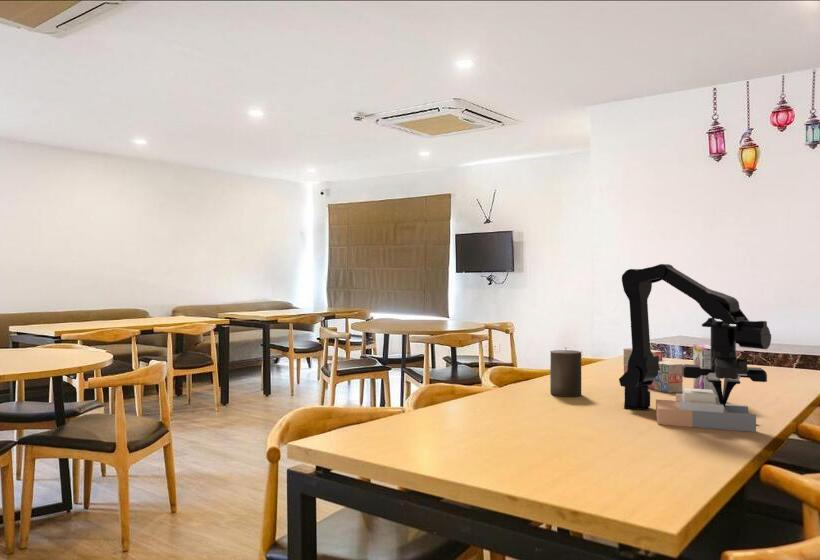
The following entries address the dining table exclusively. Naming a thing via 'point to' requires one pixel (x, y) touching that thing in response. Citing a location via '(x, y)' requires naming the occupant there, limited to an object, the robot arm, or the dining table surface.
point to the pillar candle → (565, 373)
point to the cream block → (699, 395)
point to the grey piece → (706, 417)
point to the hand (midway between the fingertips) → (722, 406)
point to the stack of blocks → (662, 373)
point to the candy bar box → (703, 366)
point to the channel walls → (699, 405)
